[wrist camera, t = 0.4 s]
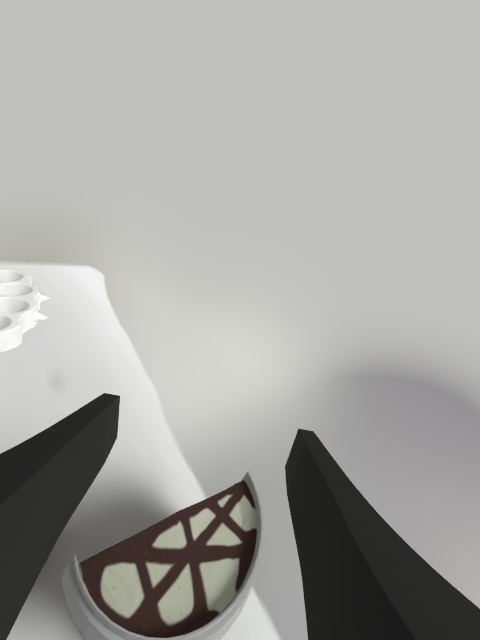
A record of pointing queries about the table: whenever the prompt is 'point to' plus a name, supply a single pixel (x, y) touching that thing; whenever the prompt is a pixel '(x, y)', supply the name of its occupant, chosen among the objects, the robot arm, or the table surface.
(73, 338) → the table surface
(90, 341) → the table surface
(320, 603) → the robot arm
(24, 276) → the grey egg carton
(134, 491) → the table surface
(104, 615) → the food container
